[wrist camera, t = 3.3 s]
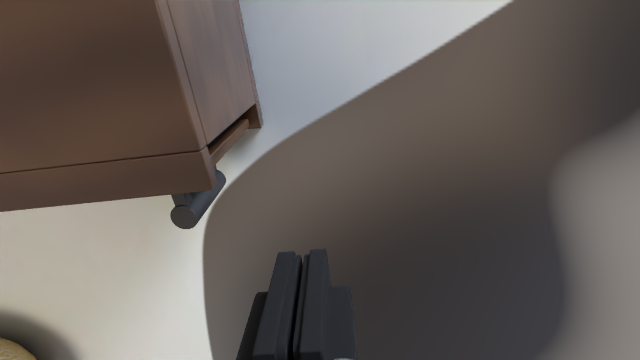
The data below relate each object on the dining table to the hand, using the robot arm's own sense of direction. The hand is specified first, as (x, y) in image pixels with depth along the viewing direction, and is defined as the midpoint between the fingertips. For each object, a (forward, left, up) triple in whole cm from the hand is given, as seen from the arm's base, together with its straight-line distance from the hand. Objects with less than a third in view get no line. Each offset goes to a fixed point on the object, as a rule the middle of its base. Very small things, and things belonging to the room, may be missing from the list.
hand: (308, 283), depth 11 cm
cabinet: (-5, -15, -15) cm, 21 cm away
